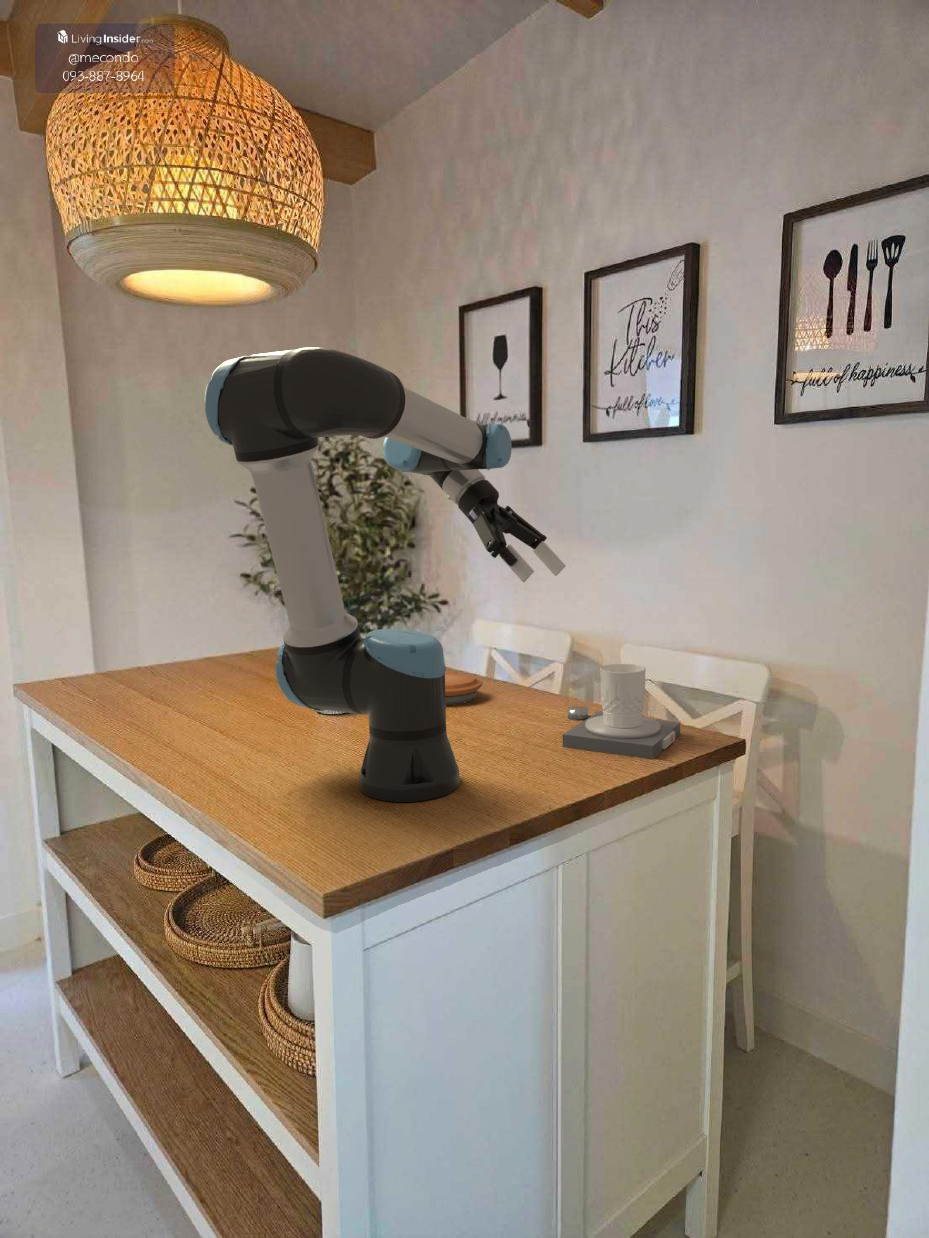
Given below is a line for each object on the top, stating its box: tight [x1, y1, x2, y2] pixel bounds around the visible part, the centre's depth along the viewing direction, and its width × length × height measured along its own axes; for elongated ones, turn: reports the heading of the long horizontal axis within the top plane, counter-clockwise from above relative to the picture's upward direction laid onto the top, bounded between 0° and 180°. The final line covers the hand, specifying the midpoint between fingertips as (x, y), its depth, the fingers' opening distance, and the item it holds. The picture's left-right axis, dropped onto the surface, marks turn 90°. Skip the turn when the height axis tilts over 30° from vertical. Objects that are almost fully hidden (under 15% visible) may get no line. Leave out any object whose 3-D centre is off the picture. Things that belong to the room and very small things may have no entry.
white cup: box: [599, 663, 646, 728], centre depth 143 cm, size 8×8×10 cm
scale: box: [562, 713, 681, 760], centre depth 144 cm, size 16×17×3 cm
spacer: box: [567, 705, 589, 722], centre depth 160 cm, size 4×4×2 cm
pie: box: [445, 672, 483, 706], centre depth 178 cm, size 15×16×5 cm
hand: (545, 573), depth 147 cm, fingers open, 13 cm apart
